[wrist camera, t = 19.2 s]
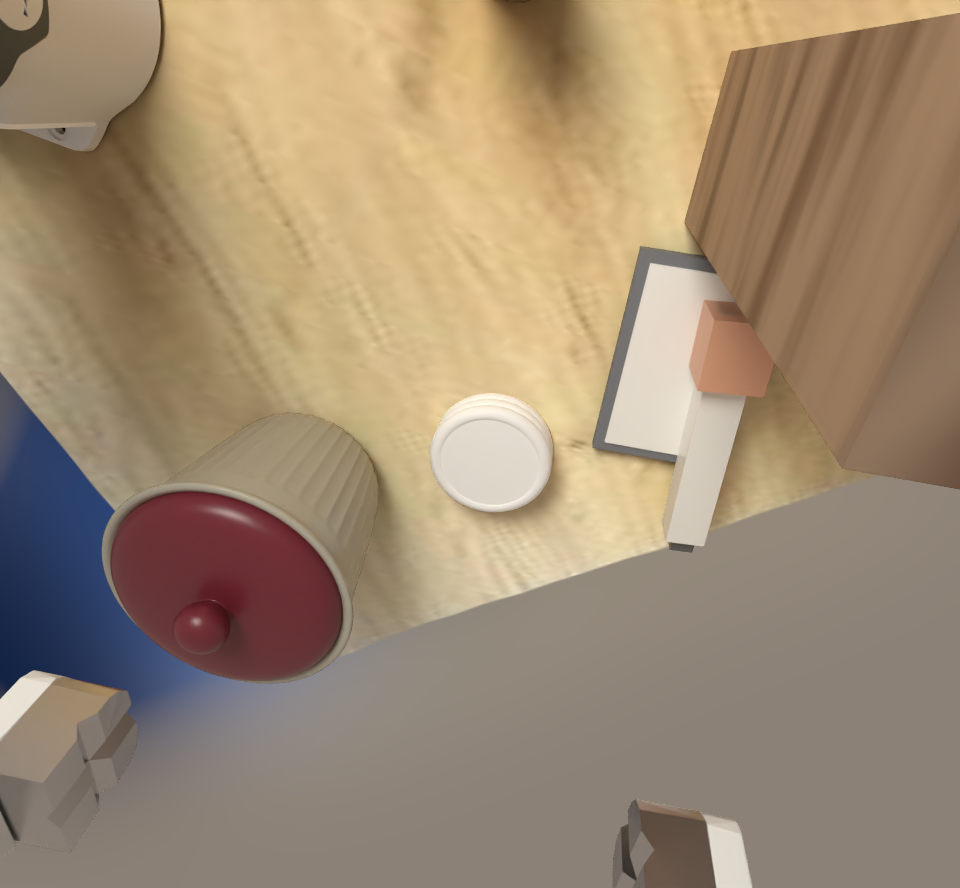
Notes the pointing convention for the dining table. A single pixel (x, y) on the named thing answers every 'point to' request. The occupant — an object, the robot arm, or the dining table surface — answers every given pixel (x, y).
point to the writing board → (656, 354)
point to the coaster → (492, 452)
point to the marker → (712, 418)
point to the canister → (250, 551)
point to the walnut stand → (848, 233)
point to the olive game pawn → (517, 0)
